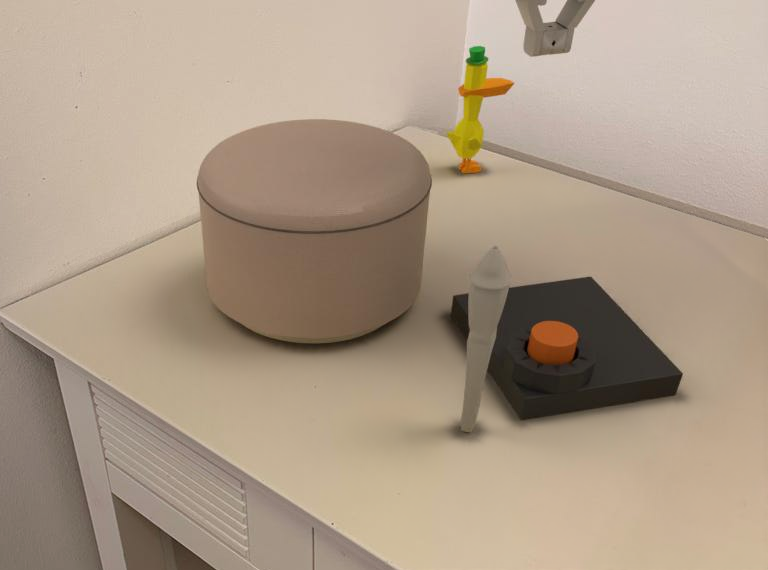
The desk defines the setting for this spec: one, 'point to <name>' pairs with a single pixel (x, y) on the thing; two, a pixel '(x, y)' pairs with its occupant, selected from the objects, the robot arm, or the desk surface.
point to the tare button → (552, 343)
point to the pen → (483, 327)
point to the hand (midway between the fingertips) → (545, 52)
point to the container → (314, 228)
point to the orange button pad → (592, 354)
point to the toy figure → (474, 108)
